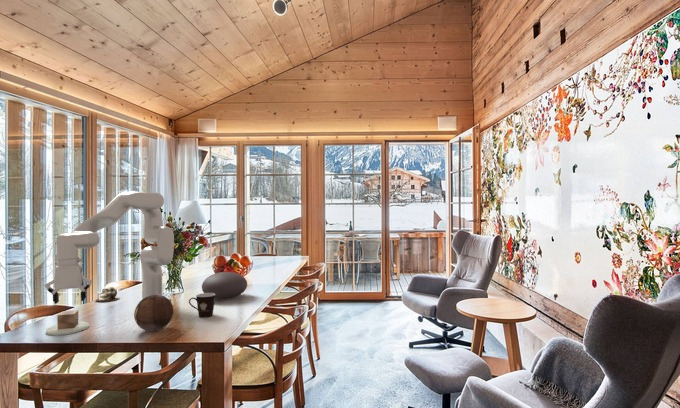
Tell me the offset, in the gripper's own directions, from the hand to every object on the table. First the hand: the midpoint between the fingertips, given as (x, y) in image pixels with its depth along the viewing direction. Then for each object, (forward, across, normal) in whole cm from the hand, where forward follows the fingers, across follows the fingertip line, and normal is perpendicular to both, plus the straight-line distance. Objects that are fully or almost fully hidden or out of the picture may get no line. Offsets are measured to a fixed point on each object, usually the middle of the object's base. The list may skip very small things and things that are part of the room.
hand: (69, 301), depth 167 cm
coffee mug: (+14, -54, 0) cm, 56 cm away
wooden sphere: (+13, -34, +16) cm, 40 cm away
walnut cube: (+11, +1, +1) cm, 11 cm away
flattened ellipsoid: (+15, -66, -32) cm, 75 cm away
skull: (+14, -4, -54) cm, 56 cm away
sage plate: (+12, +1, +1) cm, 12 cm away
